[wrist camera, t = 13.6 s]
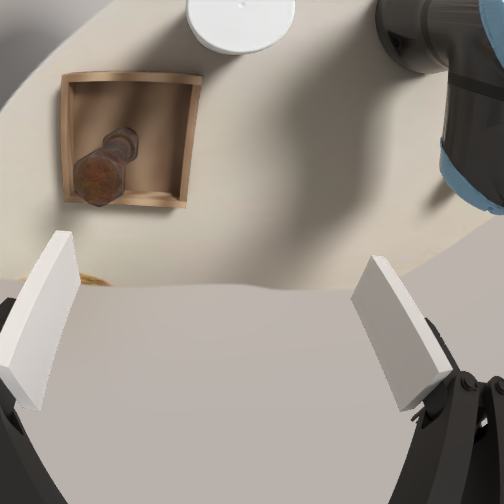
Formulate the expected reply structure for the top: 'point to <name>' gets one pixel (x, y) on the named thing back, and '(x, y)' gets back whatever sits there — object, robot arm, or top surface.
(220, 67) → the top surface
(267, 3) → the supplement tub
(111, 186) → the bolt
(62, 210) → the top surface
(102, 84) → the tray
